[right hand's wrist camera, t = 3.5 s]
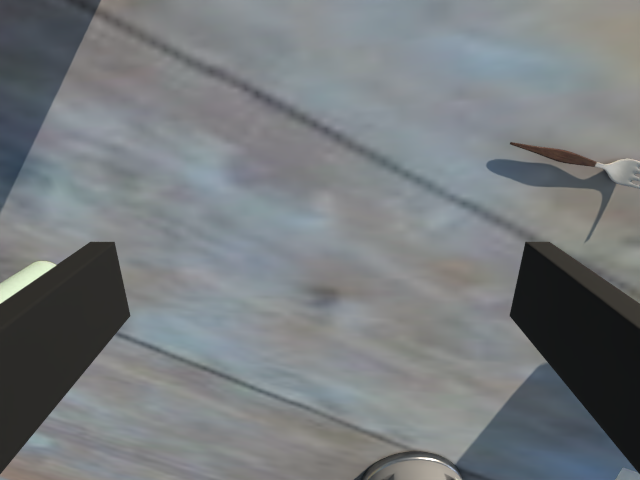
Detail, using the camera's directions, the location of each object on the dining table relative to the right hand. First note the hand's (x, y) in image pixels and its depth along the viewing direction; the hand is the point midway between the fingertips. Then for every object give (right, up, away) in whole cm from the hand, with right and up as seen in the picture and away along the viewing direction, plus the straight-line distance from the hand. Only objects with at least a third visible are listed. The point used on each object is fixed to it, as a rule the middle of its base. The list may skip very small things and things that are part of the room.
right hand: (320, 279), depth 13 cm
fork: (+26, +9, +26) cm, 38 cm away
